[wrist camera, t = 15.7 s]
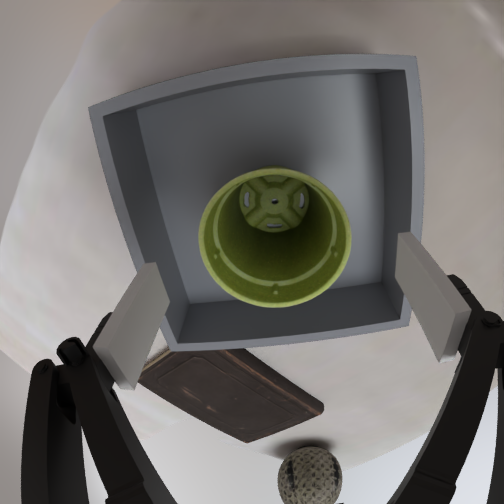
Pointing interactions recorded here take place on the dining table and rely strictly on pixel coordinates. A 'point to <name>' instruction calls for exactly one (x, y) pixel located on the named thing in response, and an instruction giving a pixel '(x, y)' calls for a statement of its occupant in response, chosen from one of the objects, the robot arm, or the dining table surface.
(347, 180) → the crate
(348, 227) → the plant pot
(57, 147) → the dining table surface
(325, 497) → the decorative egg
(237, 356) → the hardcover book
